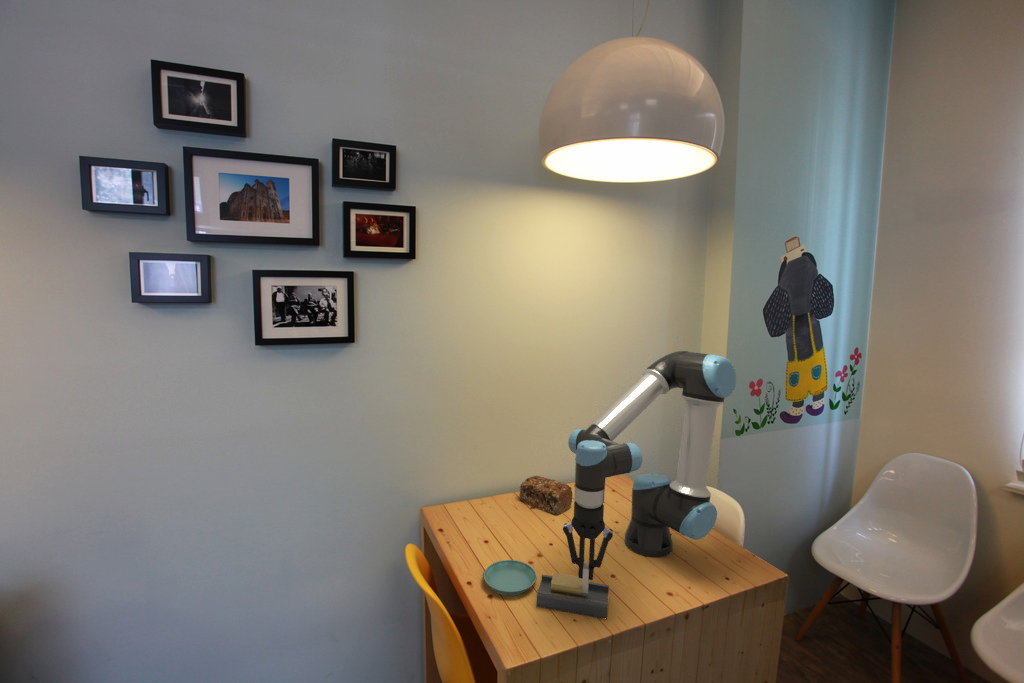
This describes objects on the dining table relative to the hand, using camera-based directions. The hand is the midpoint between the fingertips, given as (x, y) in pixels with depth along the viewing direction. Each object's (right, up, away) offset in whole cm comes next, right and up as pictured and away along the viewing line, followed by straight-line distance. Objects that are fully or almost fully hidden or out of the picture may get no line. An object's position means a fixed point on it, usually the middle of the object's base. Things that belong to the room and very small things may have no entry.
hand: (585, 589), depth 119 cm
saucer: (-20, -4, +9) cm, 22 cm away
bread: (-6, +1, +59) cm, 60 cm away
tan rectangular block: (-5, -1, +1) cm, 5 cm away
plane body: (-3, -4, +1) cm, 5 cm away
